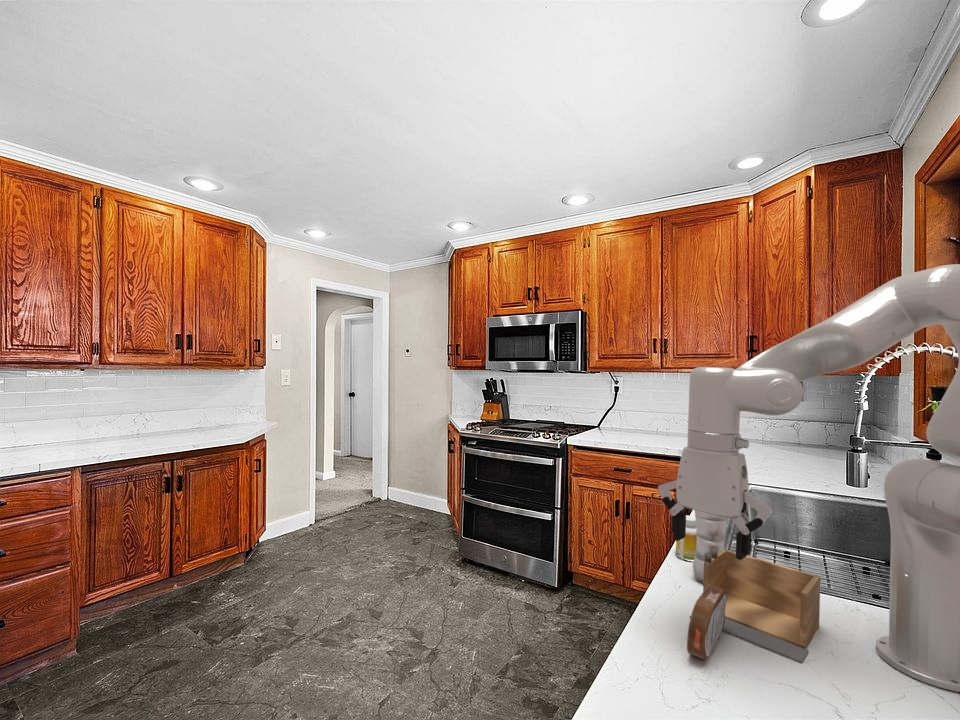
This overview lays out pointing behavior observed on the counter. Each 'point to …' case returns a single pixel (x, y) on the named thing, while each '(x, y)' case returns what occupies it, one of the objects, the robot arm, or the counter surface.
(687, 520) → the supplement bottle
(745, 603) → the cabinet carcass
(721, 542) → the plastic bottle
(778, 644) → the flat grey bar
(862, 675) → the counter surface
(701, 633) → the tin
